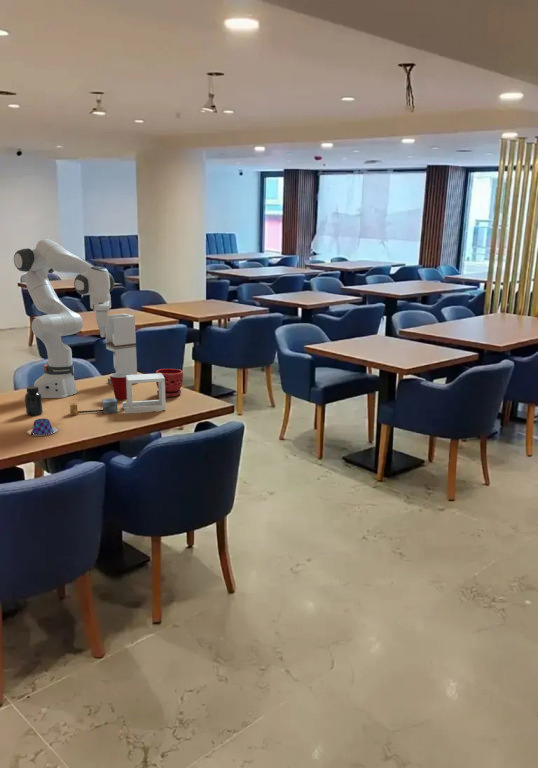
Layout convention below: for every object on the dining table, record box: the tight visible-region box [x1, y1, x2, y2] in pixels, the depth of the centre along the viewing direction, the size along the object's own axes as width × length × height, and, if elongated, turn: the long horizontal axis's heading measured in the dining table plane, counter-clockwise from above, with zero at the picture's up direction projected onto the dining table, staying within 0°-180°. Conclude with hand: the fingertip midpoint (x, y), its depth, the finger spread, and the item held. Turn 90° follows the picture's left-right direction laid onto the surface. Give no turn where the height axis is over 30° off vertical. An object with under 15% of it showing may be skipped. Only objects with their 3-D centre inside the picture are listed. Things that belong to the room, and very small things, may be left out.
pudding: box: [26, 418, 59, 437], centre depth 278 cm, size 12×12×5 cm
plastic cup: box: [109, 372, 133, 401], centre depth 327 cm, size 11×11×12 cm
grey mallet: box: [69, 397, 119, 416], centre depth 304 cm, size 20×6×5 cm, turn 107°
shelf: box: [122, 372, 167, 415], centre depth 309 cm, size 18×10×15 cm, turn 107°
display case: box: [105, 313, 138, 385], centre depth 352 cm, size 11×11×35 cm
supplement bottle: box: [24, 385, 43, 417], centre depth 301 cm, size 7×7×12 cm
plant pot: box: [155, 368, 184, 398], centre depth 334 cm, size 13×13×12 cm
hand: (102, 335), depth 307 cm, fingers open, 8 cm apart
